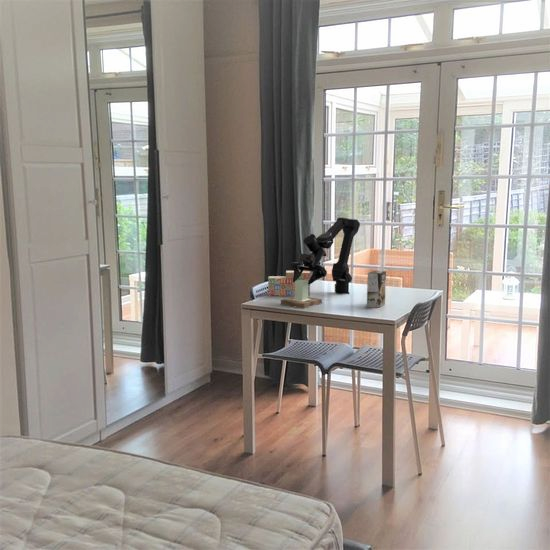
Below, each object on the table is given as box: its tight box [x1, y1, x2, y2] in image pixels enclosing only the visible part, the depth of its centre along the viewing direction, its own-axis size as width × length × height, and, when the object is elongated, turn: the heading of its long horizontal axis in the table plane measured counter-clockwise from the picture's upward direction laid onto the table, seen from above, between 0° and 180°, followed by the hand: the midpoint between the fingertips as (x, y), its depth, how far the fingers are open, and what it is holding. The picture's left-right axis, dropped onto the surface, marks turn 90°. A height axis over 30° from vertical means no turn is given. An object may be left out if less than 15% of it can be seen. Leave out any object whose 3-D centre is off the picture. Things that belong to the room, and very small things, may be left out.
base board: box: [280, 296, 323, 309], centre depth 294 cm, size 14×14×2 cm
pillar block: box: [294, 280, 309, 301], centre depth 293 cm, size 4×4×9 cm
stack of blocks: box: [267, 270, 311, 297], centre depth 315 cm, size 21×6×12 cm, turn 87°
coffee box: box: [366, 270, 387, 309], centre depth 288 cm, size 9×6×16 cm
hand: (300, 283), depth 292 cm, fingers open, 9 cm apart
